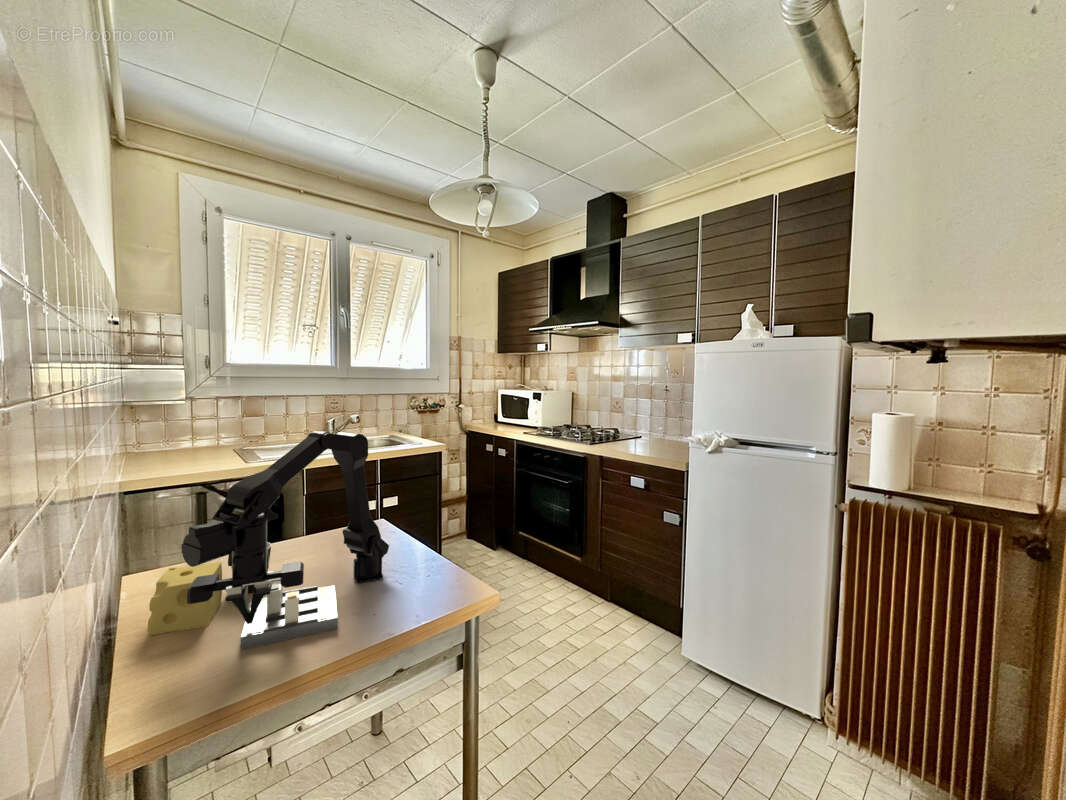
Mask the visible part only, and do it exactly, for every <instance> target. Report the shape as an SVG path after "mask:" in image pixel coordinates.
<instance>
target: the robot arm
mask: <svg viewBox="0 0 1066 800" xmlns="http://www.w3.org/2000/svg"><path fill="white" fill-rule="evenodd" d="M327 450H331V453H332V456H333V459H334V460H335V462H336V463H337V465H338V466H339V467H340V468H341V471H342V477H343V482H344V483H343V485H344V489H345V496H346V503H347V509H348V510H347V511H348V516H349V522H348V524H347V526H346V527H345V528H344V529H342V535H343V544H344V545H346V547H347V548H348V549H349V553H350V554H354V555H355V558H354V559H353V564H352V565H353V578H354V579H355V582H356V583H357V584H360V583H366V582H372V581H375V580H382V579H384V575H383V558H384V557H385V556H386V555H388V552H389V549H390V545H389V544H388V543H387V542H386V541H385V540H384V539H382V536H381V532H380V528H379V526H378V524H377V523H376V522H375V520H374V519H373V518H372V516H371V511H370V503H369V495H368V489H367V482H366V476H365V468H364V465H365V464H366V461H367V459H368V457H369V440H368V438H367V437H366V436H365V435H364V434H361V433H355V432H348V431H347V432H346V431H339V432H337V433H336V434H335V433H331V432H329V431H322V430H314V431H311V432H309V433H308V434H307V436H306V438H304V439H303V440H301V441H300V442H299V443H298V444H297V445H295V446H294V447H292V448H291V449H290V450H288V451H287V452H286V453H285V454H284V455H282V456H281V457H280V458H278V459H277V460H276V461H275V462H273V463H272V464H271V465H270V466H269V467H268V468H266V469H264V470H261V471H259V472H257V473H253V474H251V475H248V476H247V477H245V478H243V479H241V480H239V481H238V482H235V483H234V484H233V485H232V486H230V488H228V489H227V491H226V494H227V495H226V497H225V499H224V501H223V502H222V503H221V504H220V506H219V508H218V509H217V511H216V512H215V513H214V515H213V516H212V517H211V518H212V519H211V520H213V521H212V522H208V523H204V524H197V525H194V526H190V527H189V528H188V534H186V536H184V538H183V542H182V543H181V547H180V548H181V554H182V557H183V560H184V562H185V564H187V566H191V567H195V566H197V565H201V564H207V563H209V562H212V561H214V560H216V559H217V560H218V559H220V558H223V557H226V556H227V557H228V558H227V566H228V567H231V566H232V567H231V576H232V577H229V578H225V579H223V578H222V580H219V574H213V575H206V576H199V577H196V578H195V579H194V580H193V582H192V584H191V585H190V587H189V589H188V592H187V603H188V604H193V603H199V602H205V601H208V600H209V599H210V598H211V597H212V596H213V592H214V591H220V590H222V591H223V590H224V591H225V592H226V596H225V598H224V599H225V602H227V603H228V602H229V603H230V602H231V603H232V604H233V605H234V606H235V607H236V609H238V611H239V613H240V614H241V616H242V618H243V619H244V622H245V621H246V623H247V624H251V623H252V622H253V619H254V616H255V614H256V611H257V608H258V606H259V604H260V602H261V600H262V598H264V597H265V596H267V595H268V594H270V592H271V587H272V582H275V581H281V585H282V586H283V588H286V589H287V588H292V587H297V586H301V585H303V584H304V575H305V573H304V572H305V570H304V569H305V567H304V566H305V565H304V563H303V562H302V561H297V562H295V561H294V562H289V563H288V562H287V563H282V567H281V570H275V571H268V572H267V569H268V570H269V567H270V566H269V564H270V559H269V556H268V550H267V542H268V522H269V521H272V520H276V519H278V517H279V515H278V514H277V513H275V512H273V511H272V510H271V507H272V506H273V505H274V503H276V501H277V500H278V499H280V496H281V493H282V490H283V488H284V487H285V486H286V485H287V484H288V482H290V481H291V480H292V479H294V478H295V477H296V476H297V475H298V474H299V473H300V472H302V471H303V470H304V469H305V468H307V466H309V465H310V464H311V463H312V462H314V461H315V460H316V459H317V458H318V457H320V455H322V454H323V453H324V452H325V451H327ZM235 511H237V512H240V513H242V514H236V513H234V512H235ZM251 585H254V587H255V588H254V591H253V593H252V596H251V600H252V602H251V601H249V600H250V599H249V594H248V586H251ZM250 602H251V609H250Z"/></svg>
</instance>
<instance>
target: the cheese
mask: <svg viewBox="0 0 1066 800" xmlns="http://www.w3.org/2000/svg"><path fill="white" fill-rule="evenodd" d="M213 574H219V580H222V579H223V566H222V562H221V561H220V562H219V561H218V562H210V563H209V562H207V563H203V564H200V565H197V566H195V567H191V566H189V565H187V566H177V567H169V568H167V570H165V572H163V574H162V575H161V576H160V577H159V579H158V580H157V581H156V583H155V591H154V594H153V595H152V597H150V601H149V606H148V607H149V612H151V614H150V617H149V619H148V620H147V633H148V636H150V635H151V636H156V634H157V635H161V634H166V633H171V632H177V631H184V630H191V629H196V628H197V629H198V628H202V627H203V628H204V627H208V626H209V625H210V623H211V622H212V619H213V618H214V617H215V614H216V613H217V610H218V608H219V607H220V605H221V604H222V597H223V596H222V595H223V594H222V593H223V590H220V591H214V592H213V596H212V597H211V598H210V599H209V600H208V601H205V602H199V603H193V604H188V603H187V592H188V589H189V587H190V585H191V584H192V582H193V580H194V579H195V578H196V577H199V576H206V575H213ZM165 632H166V633H165Z"/></svg>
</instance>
